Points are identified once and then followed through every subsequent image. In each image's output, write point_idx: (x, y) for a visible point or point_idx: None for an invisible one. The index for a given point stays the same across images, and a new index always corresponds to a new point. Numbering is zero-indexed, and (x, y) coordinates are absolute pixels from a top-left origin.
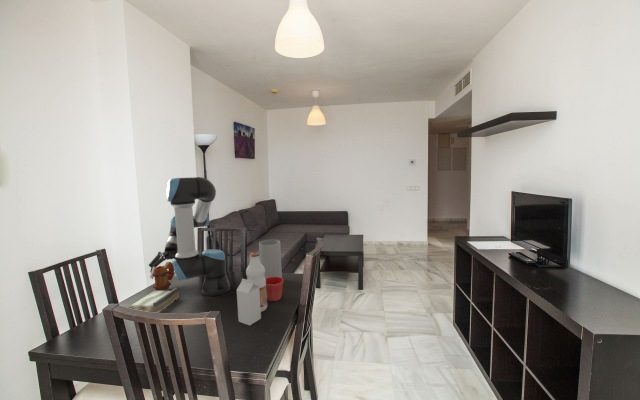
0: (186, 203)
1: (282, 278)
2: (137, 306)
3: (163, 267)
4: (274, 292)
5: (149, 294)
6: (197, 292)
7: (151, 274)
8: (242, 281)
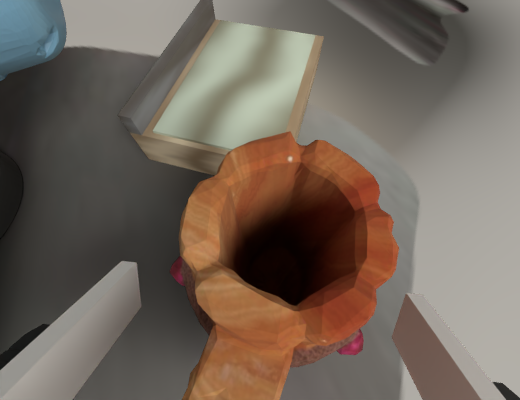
0: None
1: None
2: (285, 31)
3: (250, 286)
4: None
5: (285, 113)
6: (48, 209)
7: (431, 320)
8: None
